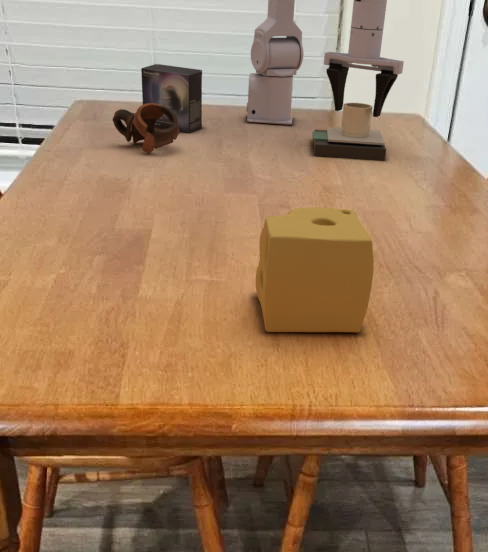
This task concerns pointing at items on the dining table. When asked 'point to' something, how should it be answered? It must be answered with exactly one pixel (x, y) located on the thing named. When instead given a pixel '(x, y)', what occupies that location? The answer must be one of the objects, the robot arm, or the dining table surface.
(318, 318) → the cheese
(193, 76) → the small box
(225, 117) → the dining table surface
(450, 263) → the dining table surface
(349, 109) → the small cup
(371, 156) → the scale
